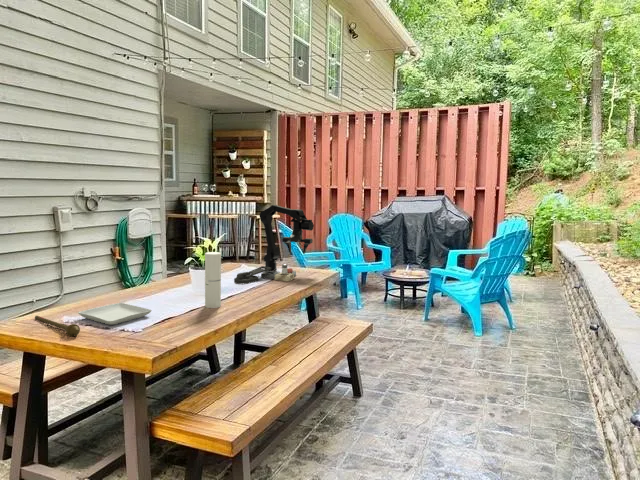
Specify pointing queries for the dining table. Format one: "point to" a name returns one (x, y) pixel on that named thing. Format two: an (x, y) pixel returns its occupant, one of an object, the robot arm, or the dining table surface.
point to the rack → (284, 277)
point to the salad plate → (115, 313)
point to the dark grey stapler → (250, 275)
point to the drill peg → (284, 269)
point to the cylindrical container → (212, 279)
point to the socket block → (272, 274)
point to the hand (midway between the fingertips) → (297, 253)
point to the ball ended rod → (62, 326)
